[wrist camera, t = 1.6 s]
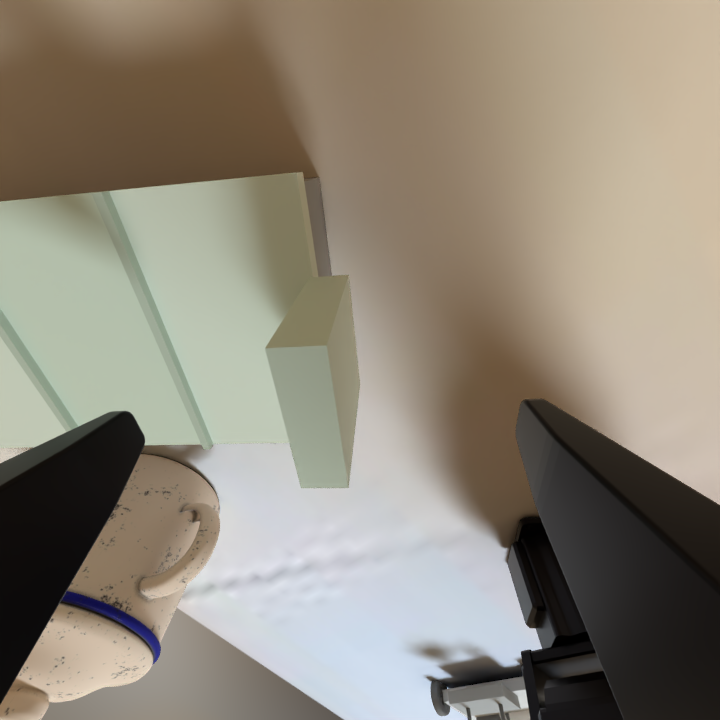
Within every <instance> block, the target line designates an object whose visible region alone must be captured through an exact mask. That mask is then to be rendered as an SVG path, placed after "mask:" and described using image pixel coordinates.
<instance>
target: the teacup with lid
mask: <svg viewBox="0 0 720 720" xmlns="http://www.w3.org/2000/svg"><path fill="white" fill-rule="evenodd" d="M219 512H220V506H219V501H218V498H217V496H216V494H215V492H214V490H213V489H212V487H211V486H210V485H209V484H208V483H207V482H206V481H205V480H204V479H203V478H202V477H201V476H200V475H198V474H197V473H196V472H194V471H193V470H191V469H189V468H188V467H186V466H184V465H182V464H180V463H178V462H175V461H173V460H170V459H167V458H163V457H159V456H154V455H147V454H140V457H139V459H138V461H137V463H136V465H135V467H134V469H133V472H132V474H131V476H130V478H129V480H128V482H127V484H126V487H125V489H124V491H123V493H122V495H121V497H120V499H119V501H118V503H117V505H116V507H115V509H114V511H113V512H112V514H111V516H110V518H109V519H108V521H107V523H106V525H105V526H104V528H103V530H102V531H101V533H100V535H99V537H98V538H97V540H96V542H95V543H94V545H93V547H92V549H91V550H90V552H89V554H88V555H87V557H86V559H85V561H84V562H83V564H82V566H81V567H80V569H79V571H78V573H77V574H76V576H75V578H74V579H73V581H72V583H71V585H70V586H69V588H68V590H67V591H66V593H65V595H64V597H63V598H62V600H61V602H60V604H59V605H58V607H57V609H56V610H55V612H54V614H53V616H52V617H51V619H50V621H49V622H48V624H47V626H46V628H45V629H44V631H43V633H42V634H41V636H40V638H39V640H38V641H37V643H36V645H35V646H34V648H33V650H32V652H31V653H30V655H29V657H28V658H27V660H26V662H25V664H24V665H23V667H22V669H21V670H20V672H19V674H18V676H17V677H16V679H15V681H14V682H13V684H12V686H11V688H10V689H9V691H8V693H7V695H6V696H5V698H4V700H3V701H2V703H1V705H0V720H41V719H42V717H43V715H44V714H45V712H46V710H47V708H48V706H49V702H63V701H70V700H74V699H77V698H80V697H82V696H85V695H87V694H89V693H91V692H93V691H95V690H98V689H100V688H103V687H111V686H121V685H126V684H130V683H132V682H135V681H137V680H138V679H140V678H141V677H143V676H144V675H145V674H146V673H147V672H148V671H149V669H150V668H151V667H152V665H153V664H154V663H155V662H156V661H157V659H158V657H159V655H160V651H161V647H160V642H161V640H162V638H163V636H164V634H165V631H166V629H167V627H168V625H169V623H170V621H171V618H172V616H173V614H174V612H175V610H176V608H177V606H178V603H179V601H180V599H181V597H182V595H183V593H184V590H185V588H186V586H187V584H188V583H189V582H190V581H192V580H193V579H194V578H195V577H196V576H197V575H198V574H199V572H200V571H201V570H202V569H203V567H204V566H205V565H206V563H207V562H208V560H209V558H210V556H211V555H212V553H213V550H214V548H215V546H216V543H217V540H218V536H219V531H220V519H219Z"/></svg>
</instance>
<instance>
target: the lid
mask: <svg viewBox="0 0 720 720" xmlns="http://www.w3.org/2000/svg"><path fill="white" fill-rule="evenodd" d="M359 389H360V379H359V369H358V359H357V350H356V340H355V331H354V321H353V311H352V302H351V292H350V282H349V275H339V276H324V277H318V270H317V264H316V257H315V250H314V244H313V237H312V230H311V224H310V217H309V210H308V204H307V197H306V190H305V184H304V177H303V172H294V173H284V174H274V175H264V176H253V177H243V178H233V179H223V180H213V181H202V182H192V183H182V184H172V185H162V186H151V187H141V188H131V189H121V190H111V191H100V192H90V193H80V194H70V195H60V196H49V197H39V198H29V199H19V200H8V201H0V448H26V447H36V446H38V445H40V444H43V443H45V442H47V441H49V440H51V439H53V438H55V437H57V436H59V435H62V434H64V433H66V432H68V431H70V430H72V429H74V428H76V427H78V426H81V425H83V424H85V423H87V422H89V421H91V420H93V419H95V418H97V417H100V416H102V415H104V414H106V413H108V412H112V411H128V412H130V413H132V414H133V416H134V417H135V419H136V421H137V423H138V425H139V427H140V428H141V430H142V432H143V434H144V436H145V445H192V444H201V445H202V447H203V449H211V447H212V446H213V444H247V443H290V447H291V451H292V455H293V459H294V463H295V466H296V470H297V474H298V478H299V482H300V486H301V488H349V479H350V470H351V461H352V452H353V443H354V434H355V425H356V416H357V407H358V398H359Z"/></svg>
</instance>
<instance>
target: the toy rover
mask: <svg viewBox="0 0 720 720" xmlns="http://www.w3.org/2000/svg"><path fill="white" fill-rule="evenodd" d="M522 668H523V665H522ZM522 675H523V669H522ZM431 698H432V702H433V706H434V708H435V710H436V712H437V714H438V715H440V716H446V715H448V714H449V712H450V707H452V708H454V709H455V710H457V711H458V712H460V713H461V714H463V715H464V716H466V717H467V718H468V720H530V714H529V708H528V701H527V695H526V689H525V683H524V676H523V677H517V678H511V679H505V680H499V681H493V682H487V683H481V684H475V685H469V686H463V687H457V688H451V689H447V687H446V686H445V685H444V684H442V683H441V682H440V681H432V683H431Z"/></svg>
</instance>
